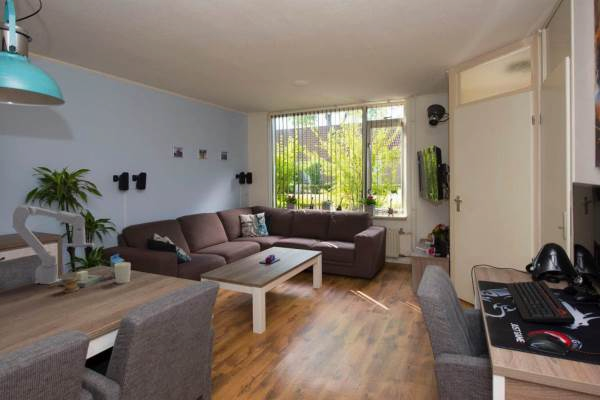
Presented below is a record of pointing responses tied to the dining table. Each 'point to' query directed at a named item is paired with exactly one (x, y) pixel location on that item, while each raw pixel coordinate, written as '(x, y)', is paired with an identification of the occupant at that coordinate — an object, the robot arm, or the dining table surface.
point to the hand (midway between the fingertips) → (80, 259)
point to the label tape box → (115, 261)
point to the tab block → (82, 275)
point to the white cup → (122, 272)
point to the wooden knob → (70, 284)
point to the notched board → (88, 281)
